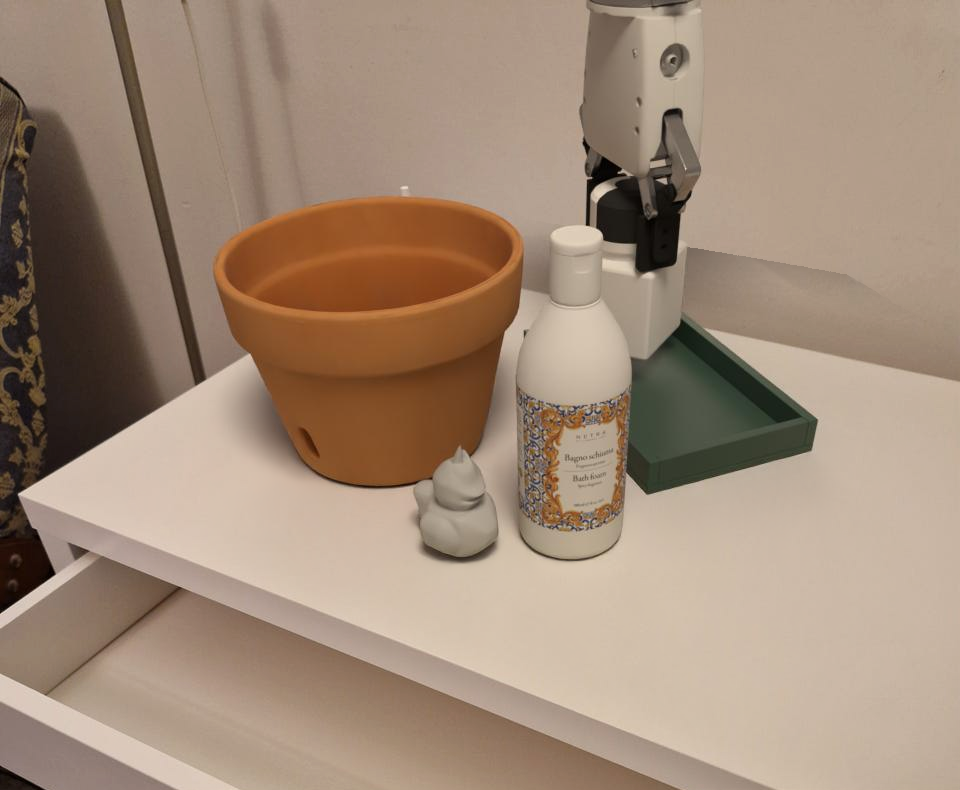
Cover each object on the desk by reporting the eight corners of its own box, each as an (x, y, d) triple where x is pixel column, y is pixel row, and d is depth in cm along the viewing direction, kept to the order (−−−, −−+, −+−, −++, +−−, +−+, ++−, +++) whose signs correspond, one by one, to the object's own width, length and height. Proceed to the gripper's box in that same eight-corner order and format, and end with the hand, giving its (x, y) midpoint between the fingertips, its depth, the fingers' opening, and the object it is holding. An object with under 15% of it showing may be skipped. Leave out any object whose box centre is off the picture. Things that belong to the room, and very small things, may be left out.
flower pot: (371, 349, 89) (349, 174, 79) (577, 410, 80) (581, 220, 70) (198, 463, 76) (145, 272, 66) (417, 550, 67) (395, 344, 57)
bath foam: (535, 571, 65) (531, 267, 51) (508, 511, 70) (498, 220, 56) (636, 552, 66) (659, 249, 52) (603, 494, 71) (616, 204, 57)
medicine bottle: (681, 326, 83) (695, 175, 75) (646, 363, 79) (657, 207, 71) (602, 310, 86) (608, 163, 78) (564, 345, 82) (566, 193, 73)
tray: (664, 326, 90) (666, 298, 88) (812, 450, 74) (818, 419, 72) (523, 358, 86) (523, 329, 85) (647, 494, 71) (649, 463, 69)
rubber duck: (467, 582, 64) (459, 477, 59) (393, 544, 68) (380, 442, 62) (520, 541, 67) (517, 437, 62) (447, 507, 71) (438, 406, 65)
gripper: (768, -5, 60) (731, 280, 72) (634, -47, 72) (621, 203, 84) (656, 11, 59) (638, 300, 70) (538, -35, 71) (539, 219, 83)
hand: (629, 246), depth 77 cm, fingers closed on medicine bottle, 7 cm apart
